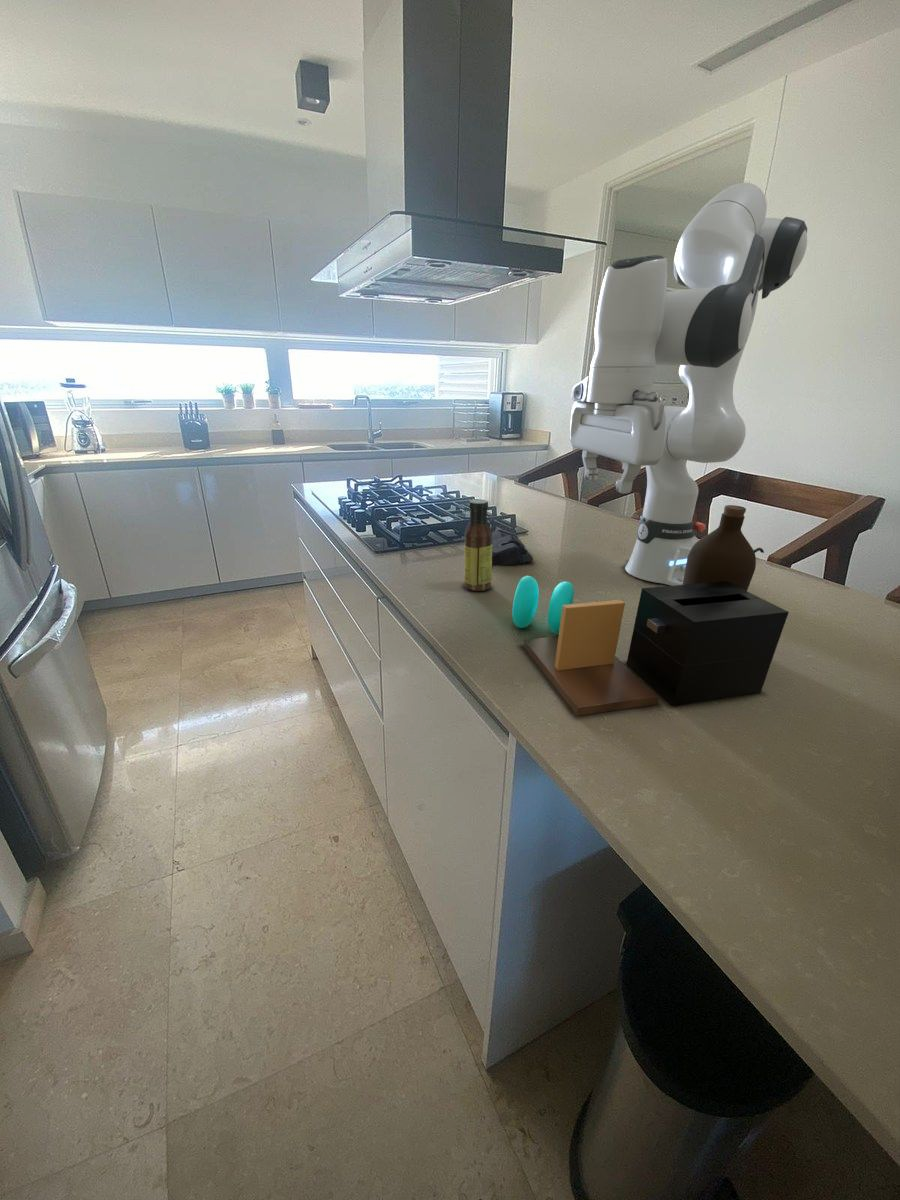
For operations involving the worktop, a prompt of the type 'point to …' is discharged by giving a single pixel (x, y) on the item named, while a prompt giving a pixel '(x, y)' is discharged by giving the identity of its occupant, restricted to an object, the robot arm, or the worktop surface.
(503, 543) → the dark slate chunk
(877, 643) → the worktop surface
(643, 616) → the toaster
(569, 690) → the cutting board
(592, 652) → the toast
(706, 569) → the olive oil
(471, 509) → the sauce bottle
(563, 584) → the turquoise disc pair
